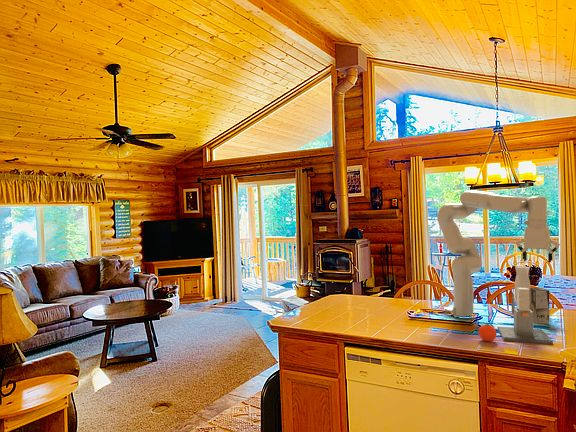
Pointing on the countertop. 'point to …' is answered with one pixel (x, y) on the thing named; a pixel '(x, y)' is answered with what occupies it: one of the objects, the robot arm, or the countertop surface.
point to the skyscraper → (520, 281)
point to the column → (523, 299)
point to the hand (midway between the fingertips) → (537, 261)
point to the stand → (524, 330)
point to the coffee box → (539, 304)
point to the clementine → (487, 332)
